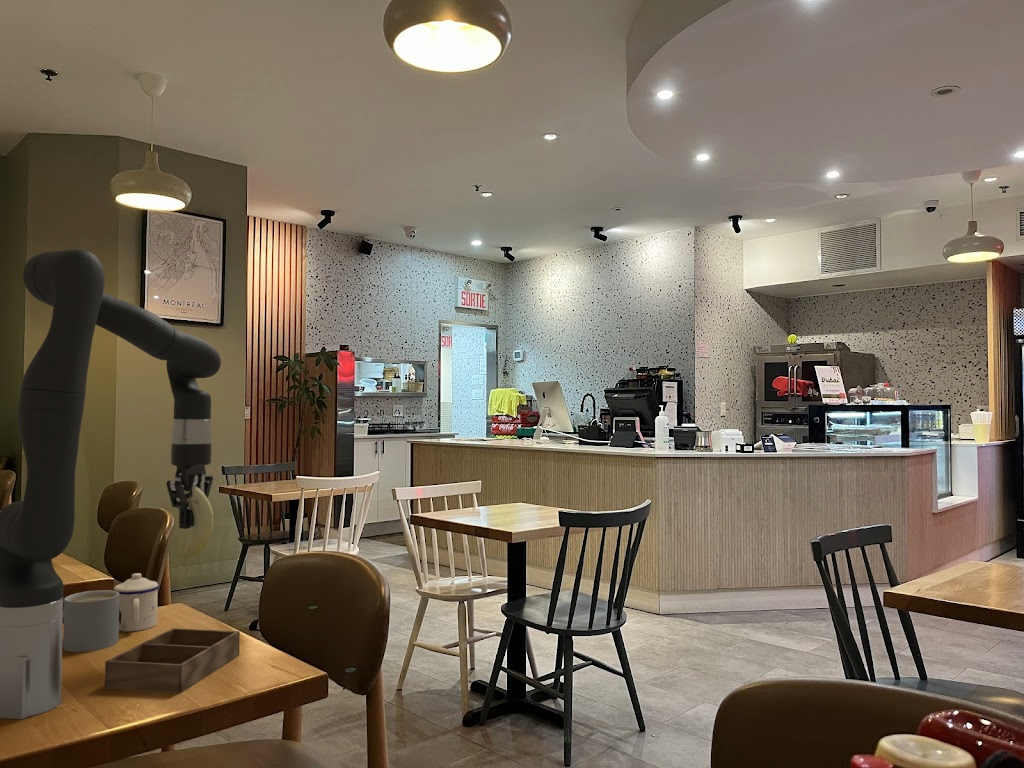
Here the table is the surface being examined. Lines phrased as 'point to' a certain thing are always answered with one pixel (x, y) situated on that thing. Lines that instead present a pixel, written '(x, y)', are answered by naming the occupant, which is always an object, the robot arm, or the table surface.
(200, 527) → the fruit
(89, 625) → the coffee mug
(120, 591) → the teacup with lid
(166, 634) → the walnut crate
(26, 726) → the table surface
